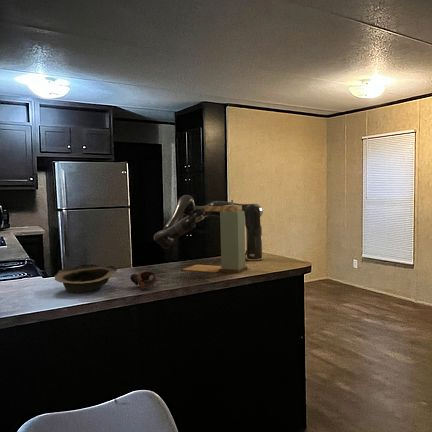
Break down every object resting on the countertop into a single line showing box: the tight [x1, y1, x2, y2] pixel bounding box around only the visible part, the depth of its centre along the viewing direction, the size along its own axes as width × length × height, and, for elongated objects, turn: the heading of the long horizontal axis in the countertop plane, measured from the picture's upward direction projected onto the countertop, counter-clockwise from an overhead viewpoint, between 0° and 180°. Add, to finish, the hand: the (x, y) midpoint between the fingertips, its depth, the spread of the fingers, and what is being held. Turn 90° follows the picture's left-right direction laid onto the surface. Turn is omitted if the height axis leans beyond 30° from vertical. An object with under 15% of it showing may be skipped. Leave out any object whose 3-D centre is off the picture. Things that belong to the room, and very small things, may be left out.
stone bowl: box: [54, 263, 117, 294], centre depth 193 cm, size 25×25×9 cm
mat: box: [181, 264, 221, 274], centre depth 236 cm, size 20×14×1 cm
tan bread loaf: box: [204, 199, 242, 212], centre depth 230 cm, size 20×6×6 cm, turn 70°
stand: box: [218, 211, 249, 274], centre depth 230 cm, size 11×11×31 cm
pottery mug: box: [129, 270, 158, 291], centre depth 195 cm, size 12×10×8 cm
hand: (207, 210), depth 234 cm, fingers open, 8 cm apart
